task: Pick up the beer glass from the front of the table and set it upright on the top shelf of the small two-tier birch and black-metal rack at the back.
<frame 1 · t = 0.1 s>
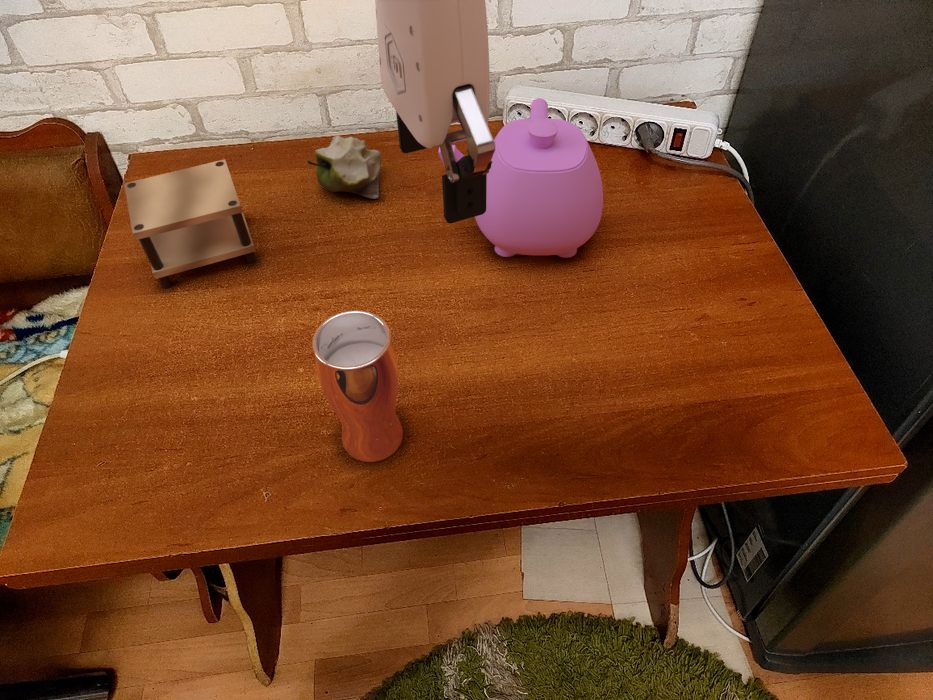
hand: (441, 180, 54), 25 cm above the table, tool pointing down, fingers open, 9 cm apart
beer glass: (373, 437, 69), on the table
teapot: (519, 223, 90), on the table
rack: (204, 252, 87), on the table
fruit: (350, 185, 96), on the table
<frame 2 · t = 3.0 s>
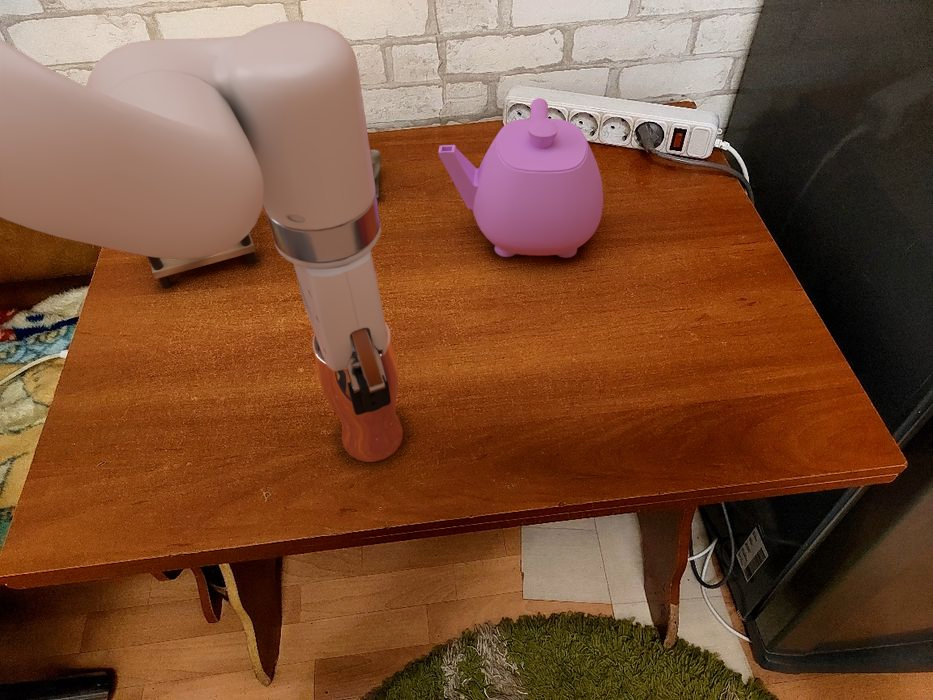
hand: (359, 373, 61), 10 cm above the table, tool pointing down, fingers closed on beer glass, 7 cm apart
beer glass: (373, 437, 69), on the table, touching gripper
everything else where it was.
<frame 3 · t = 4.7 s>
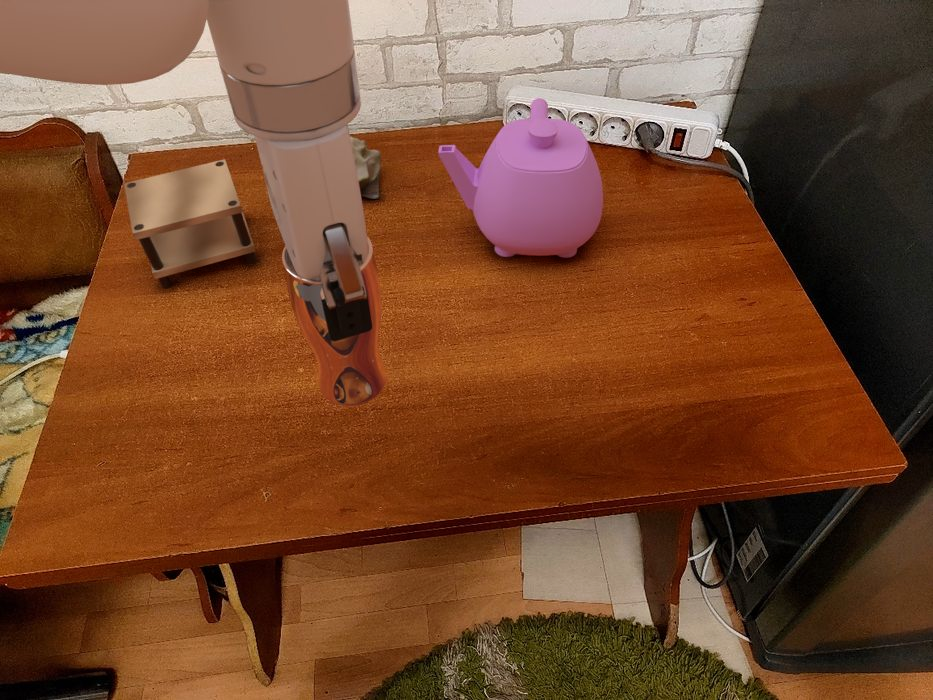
hand: (336, 298, 53), 20 cm above the table, tool pointing down, fingers closed on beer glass, 7 cm apart
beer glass: (353, 380, 61), point 10 cm above the table, touching gripper
everything else where it was.
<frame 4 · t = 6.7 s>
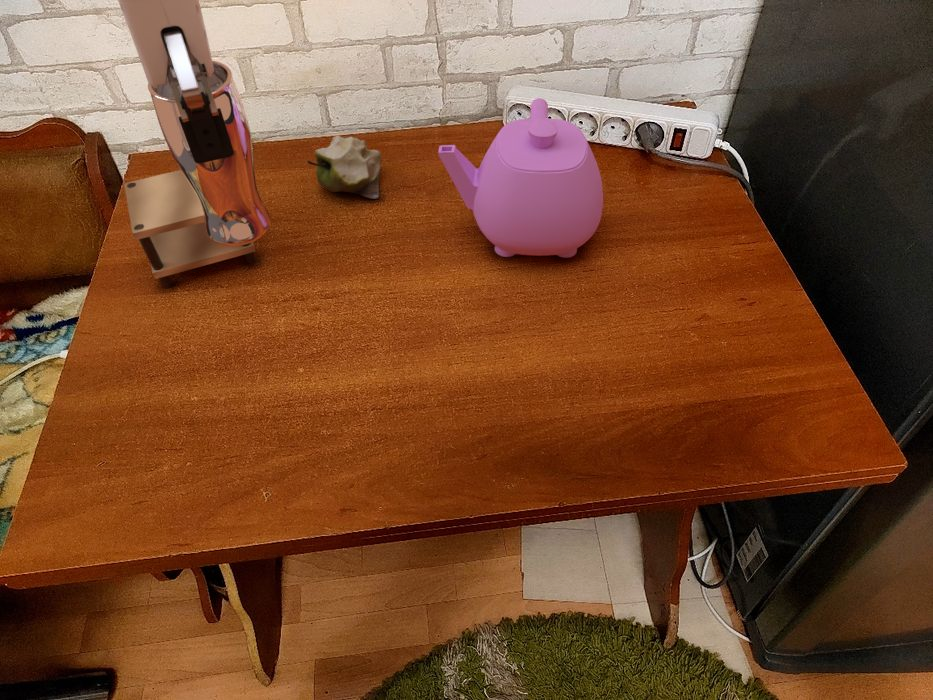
hand: (207, 132, 58), 26 cm above the table, tool pointing down, fingers closed on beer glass, 7 cm apart
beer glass: (239, 227, 66), point 15 cm above the table, touching gripper
everything else where it was.
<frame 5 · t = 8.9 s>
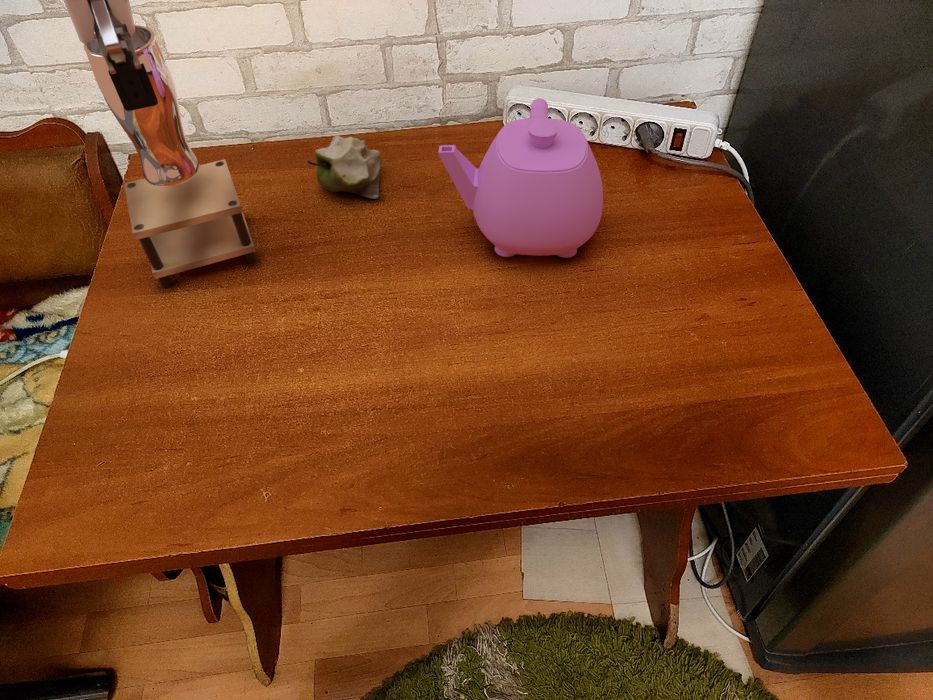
hand: (137, 87, 70), 22 cm above the table, tool pointing down, fingers closed on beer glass, 7 cm apart
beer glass: (172, 172, 78), point 12 cm above the table, touching gripper
everything else where it was.
when the fingers open (19 cm above the table, at t = 10.3 s): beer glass stays where it is, resting on rack.
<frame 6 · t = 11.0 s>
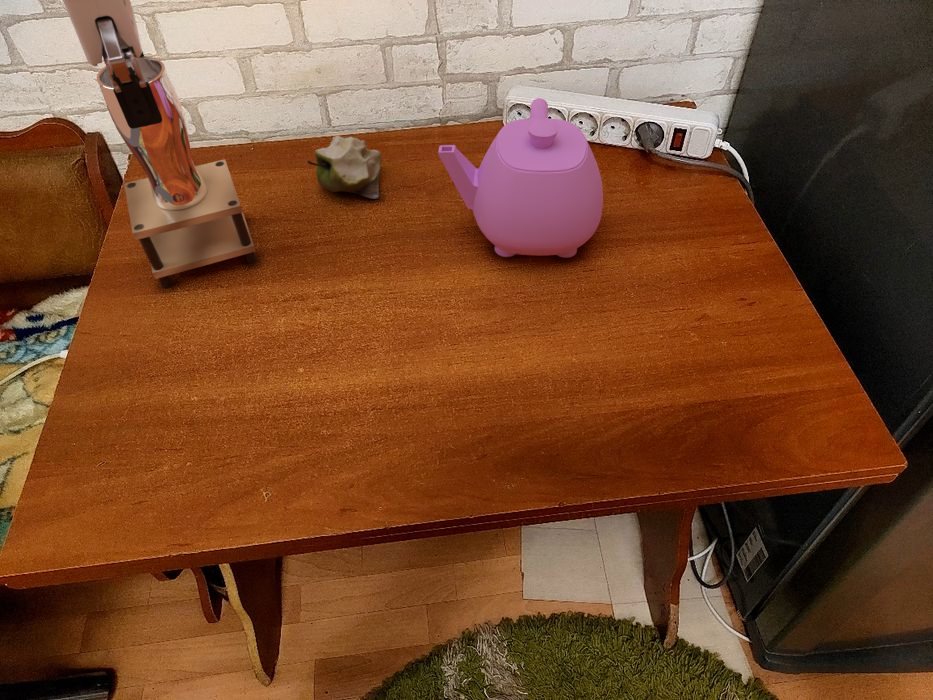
hand: (141, 100, 71), 21 cm above the table, tool pointing down, fingers open, 9 cm apart
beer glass: (181, 195, 80), point 9 cm above the table, touching rack
everything else where it was.
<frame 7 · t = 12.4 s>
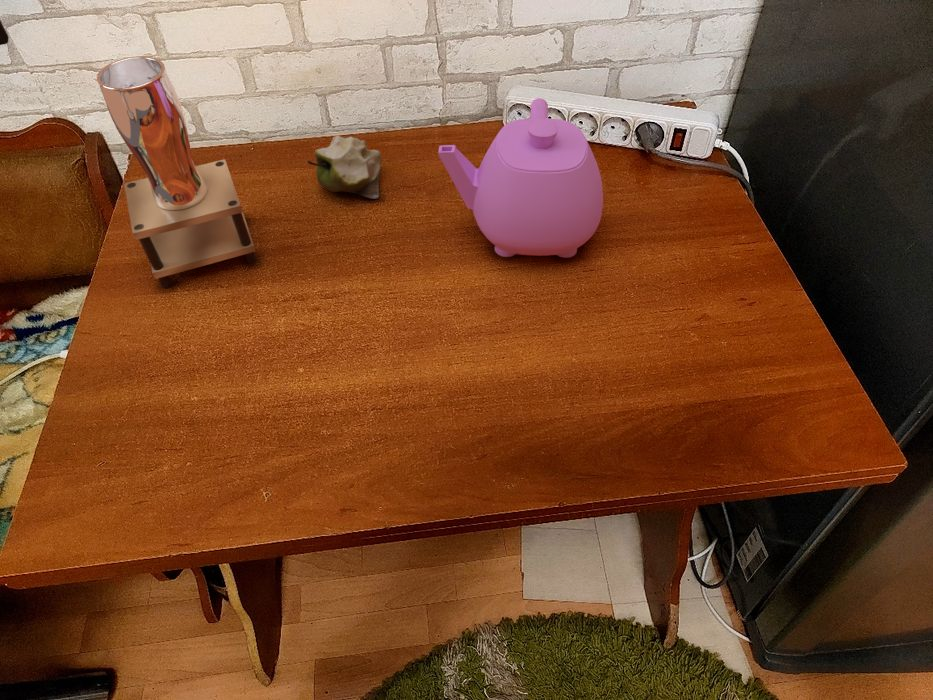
nothing on the table moved.
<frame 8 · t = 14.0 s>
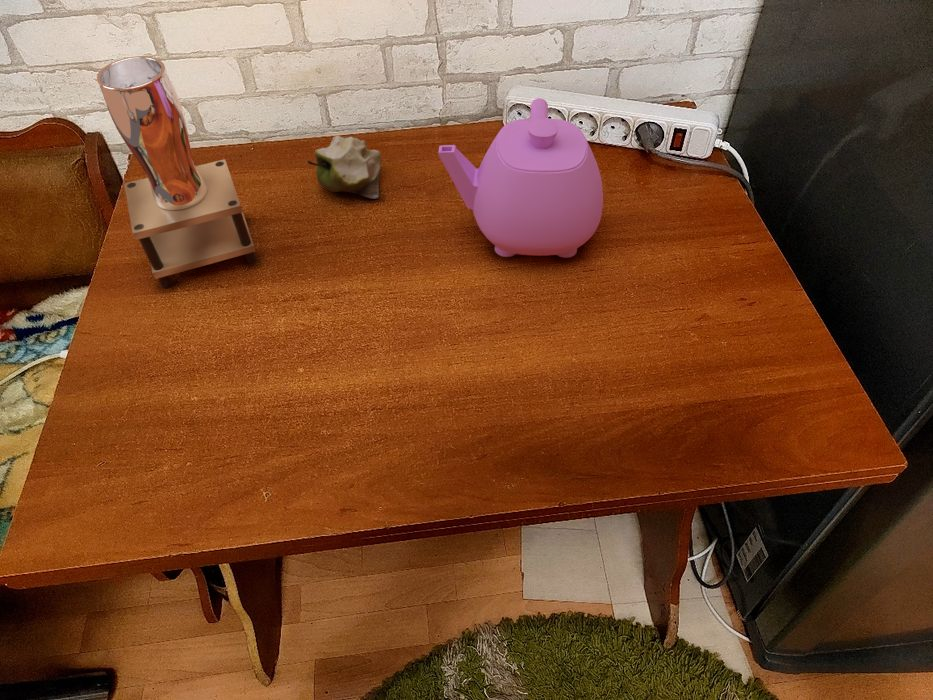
nothing on the table moved.
at the end: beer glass 0.1 cm off-centre on the rack, point 8.8 cm above the rack's base; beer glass tilted 0°; the gripper is holding nothing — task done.
